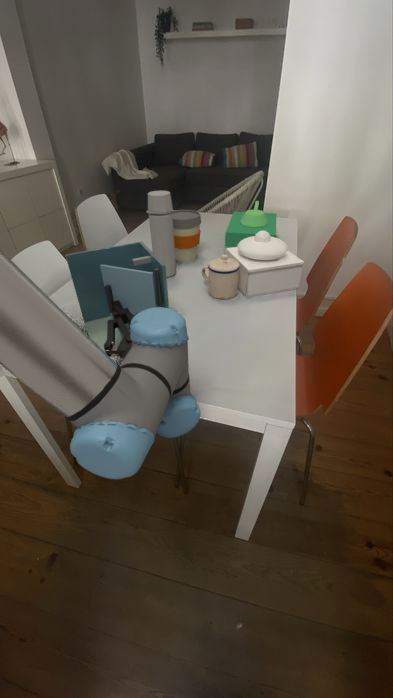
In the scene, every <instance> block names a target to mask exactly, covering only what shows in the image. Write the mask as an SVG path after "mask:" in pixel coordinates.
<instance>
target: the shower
mask: <svg viewBox="0 0 393 698" xmlns="http://www.w3.org/2000/svg"><path fill="white" fill-rule="evenodd" d="M64 255H65V258H66V259H65V260H66V262H67V266H68V269H69V274H70V277H71V280H72V284H73V288H74V291H75V296H76V298H77V301H78V306H79V309H80V312H81V316H82V320H83V323H84V326H85V329H86V332H87V335H88V336H89V337H90V338H91V339H92V340H93V341H94V342H95V343H96V344H97V345H98V346H99V347H100V348H101V349H102V350H103V351H104V352H105V350H104V344H105V342H106V341H107V321H108V320H110V319H111V314H110V311H109V306H108V302H107V297H106V293H105V288H104V282H103V277H102V273H101V268H100V265H108V266H114V267H121V268H127V269H134V270H140V271H146V272H153V277H154V286H155V295H156V304H157V307H163V308H170V306H169V304H170V303H169V292H168V282H167V281H168V280H167V279H168V277H167V278H166V266H165V264H164V263H163V262H162V261H161V260H160V259H159V258H158V257H157V256H156V255H155V254H154V253H153V251H152V250H151V249H150V248H149V246H147V245H146V244H145V243H144V242H143V241H136V242H130V243H124V244H119V245H118V244H117V245H112V246H107V247H101V248H96V249H89V250H83V251H78V252H72V253H67V254H66V253H65V254H64ZM127 330H129V332H130V334H131V330H130V329H128V328H127ZM122 339H123V338H122V336H121V334H120V332H119V330H118V328H115V344H116V346H117V347H118V346H119V344H120V343H121V341H122ZM115 355H117V354H112V356H115Z"/></svg>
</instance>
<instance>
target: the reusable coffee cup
mask: <svg viewBox="0 0 393 698" xmlns="http://www.w3.org/2000/svg"><path fill="white" fill-rule="evenodd" d="M171 212H172V214H173V230H174V246H175V261H178V262H190V261H194V260H195V259H197V256H198V246H199V245H200V239H201V224H202V218H201V217H202V216H201V213H200V212H199V211H196V210H193V209H175V210H172V211H171Z"/></svg>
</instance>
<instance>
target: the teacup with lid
mask: <svg viewBox="0 0 393 698" xmlns="http://www.w3.org/2000/svg"><path fill="white" fill-rule="evenodd" d="M239 268H240V265H239V263H238V262H237V261H236V260H234V259H230V258H228V256H227V255H226V254H225V253H223V254H221V255H220V257H218V258H214V259H212V260H210V261H209V262H208V263H207V264H206V265H204V266H202V267H201V276H202V278H203V280H204V281H205V282H207V283H208V294H209V295H210V296H211V297H212V298H215V299H219V300H229V299H232V298H235V297H236V295H238V290H239V289H238V274H239ZM206 269H208V276H207V273H206Z"/></svg>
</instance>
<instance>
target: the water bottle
mask: <svg viewBox="0 0 393 698" xmlns="http://www.w3.org/2000/svg"><path fill="white" fill-rule="evenodd" d="M171 211H174V208H173V201H172V194H171V192H170V191H168V190H153V191H152V190H151V191H149V192H147V210H146V211H145V212H146V213H147V214H148V222H149V231H150V240H151V248H152V250H151V251H152V252H153V253H154V254H155V255H156V256H157V257H158V258H159V259H160V260H161V261H162V262H163V263H164V264H165V266H166V278H167V279H168V278H171V277H173V276H175V274H176V272H177V264H176V260H175V246H174V230H173V214H172V212H171Z"/></svg>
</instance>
